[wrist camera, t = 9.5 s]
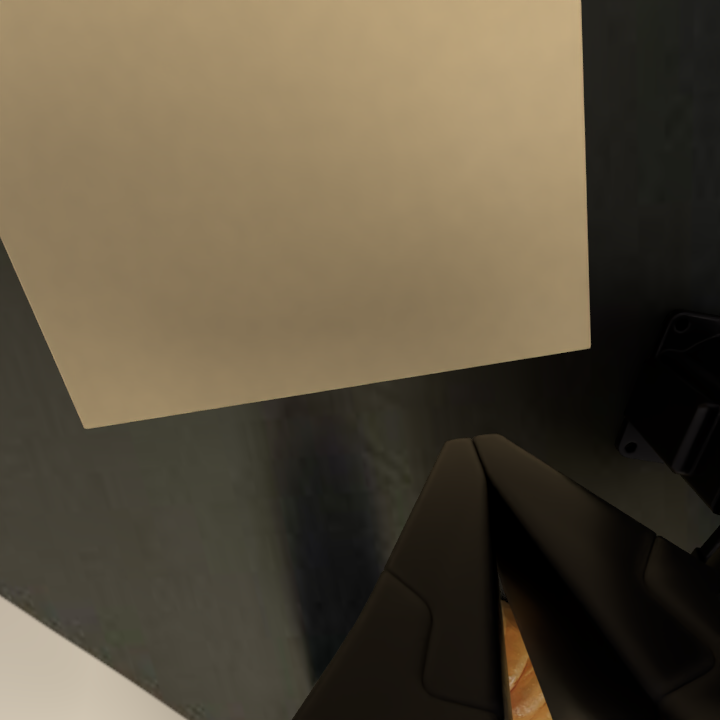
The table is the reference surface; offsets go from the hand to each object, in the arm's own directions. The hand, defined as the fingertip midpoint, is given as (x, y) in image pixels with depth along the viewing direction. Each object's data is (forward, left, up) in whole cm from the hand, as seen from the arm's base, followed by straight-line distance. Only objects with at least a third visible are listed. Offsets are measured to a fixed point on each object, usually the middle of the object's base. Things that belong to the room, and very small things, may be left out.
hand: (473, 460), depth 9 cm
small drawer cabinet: (+5, -5, -13) cm, 15 cm away
